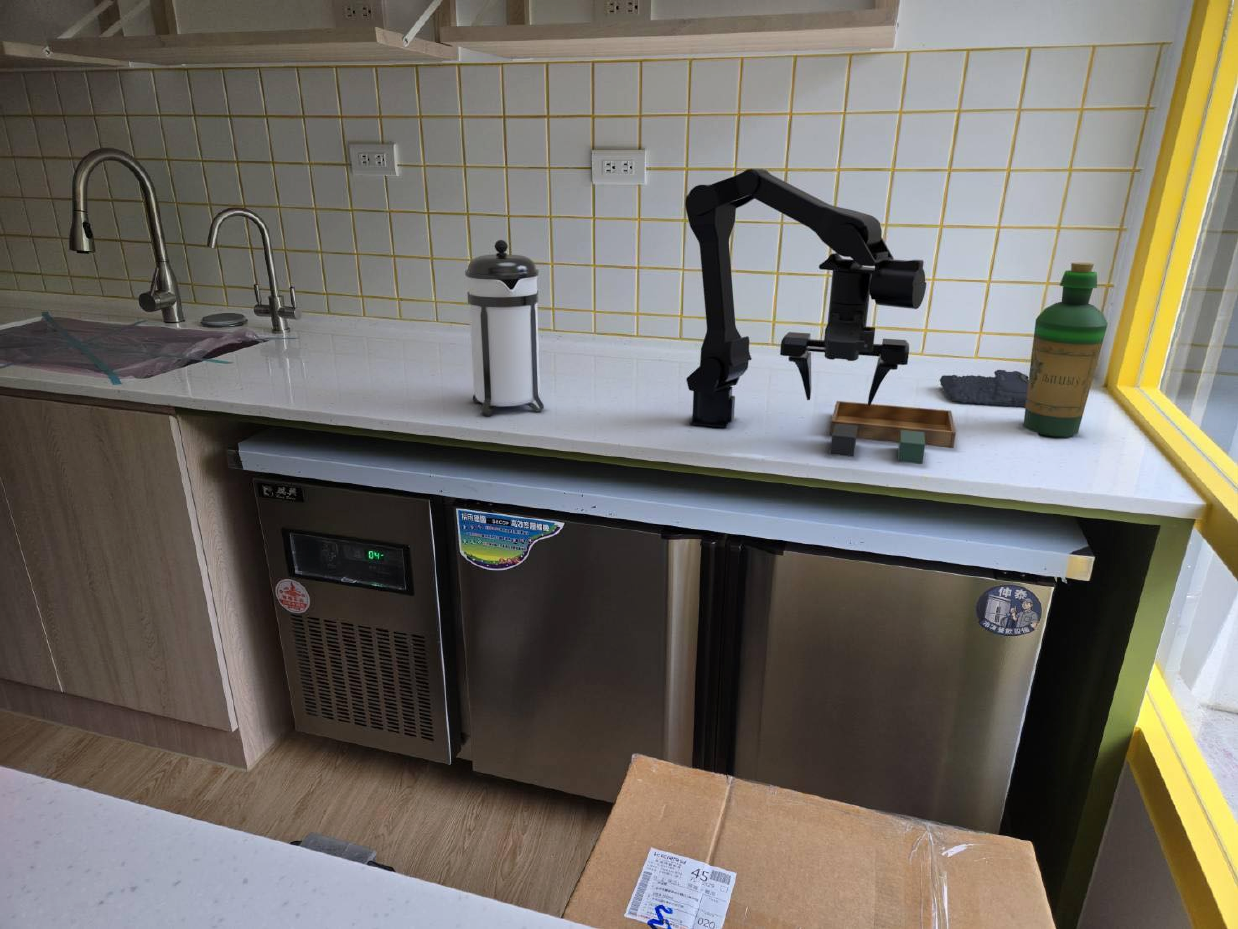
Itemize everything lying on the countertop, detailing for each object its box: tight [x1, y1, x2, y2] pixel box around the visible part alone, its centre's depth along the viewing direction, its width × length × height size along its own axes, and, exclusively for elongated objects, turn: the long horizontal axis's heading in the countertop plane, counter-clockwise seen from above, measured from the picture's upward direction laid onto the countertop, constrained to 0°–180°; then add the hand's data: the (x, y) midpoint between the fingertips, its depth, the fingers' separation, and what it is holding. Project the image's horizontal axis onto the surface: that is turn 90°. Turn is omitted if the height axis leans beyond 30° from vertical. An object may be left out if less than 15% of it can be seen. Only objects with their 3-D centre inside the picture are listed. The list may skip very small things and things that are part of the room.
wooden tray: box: [829, 400, 957, 449], centre depth 138 cm, size 19×13×3 cm
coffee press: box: [464, 239, 545, 417], centre depth 148 cm, size 17×16×30 cm
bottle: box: [1022, 262, 1109, 438], centre depth 135 cm, size 11×11×28 cm
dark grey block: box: [829, 424, 858, 457], centre depth 128 cm, size 4×6×4 cm, turn 162°
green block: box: [897, 430, 926, 464], centre depth 126 cm, size 4×6×4 cm, turn 162°
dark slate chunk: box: [939, 369, 1029, 408], centre depth 161 cm, size 15×22×5 cm
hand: (838, 402), depth 128 cm, fingers open, 9 cm apart
